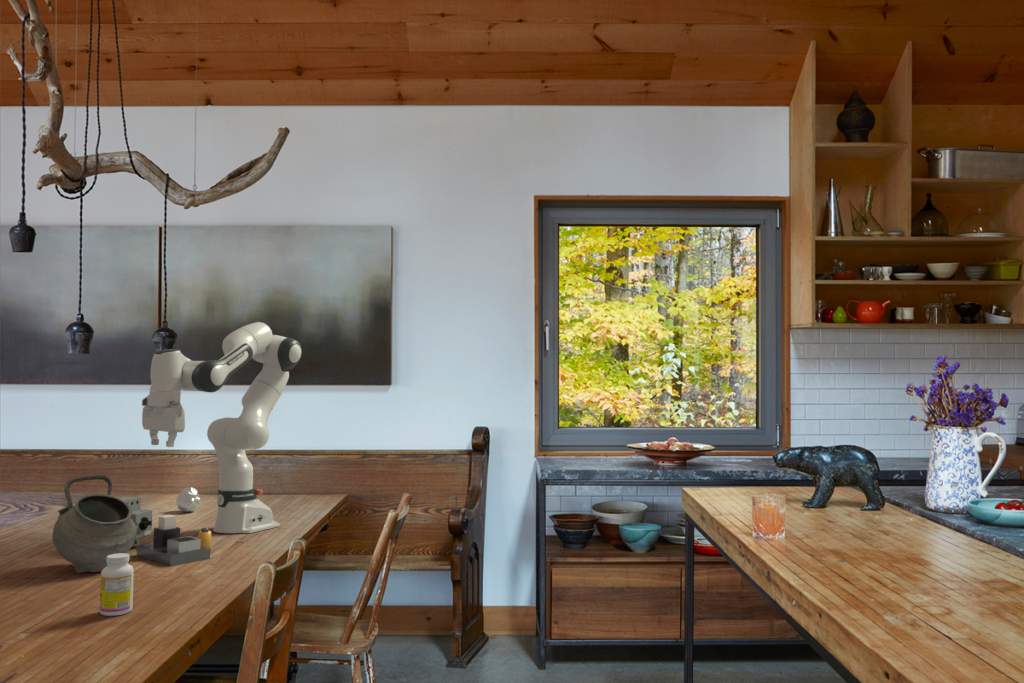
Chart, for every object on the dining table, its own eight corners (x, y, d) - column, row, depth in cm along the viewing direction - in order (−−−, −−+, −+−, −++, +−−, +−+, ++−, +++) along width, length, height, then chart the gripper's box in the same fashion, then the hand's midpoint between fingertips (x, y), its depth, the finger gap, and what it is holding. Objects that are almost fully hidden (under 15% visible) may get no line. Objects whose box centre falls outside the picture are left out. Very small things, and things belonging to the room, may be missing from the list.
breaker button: (169, 531, 231) (170, 514, 231) (175, 532, 229) (176, 516, 229) (158, 533, 228) (158, 516, 228) (164, 534, 226) (164, 517, 226)
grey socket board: (175, 548, 237) (176, 522, 237) (209, 558, 224) (210, 531, 225) (136, 555, 227) (137, 528, 228) (170, 566, 215) (171, 537, 215)
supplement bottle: (107, 608, 176) (109, 552, 177) (137, 607, 177) (139, 551, 177) (94, 617, 169) (96, 558, 170) (125, 616, 170) (127, 558, 170)
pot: (57, 562, 217) (60, 474, 219) (137, 556, 225) (140, 471, 227) (44, 580, 198) (48, 484, 200) (132, 573, 207) (136, 480, 208)
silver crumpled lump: (175, 515, 293) (176, 488, 293) (176, 510, 301) (177, 485, 302) (200, 513, 296) (201, 487, 296) (200, 509, 305) (201, 484, 305)
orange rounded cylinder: (206, 549, 236) (207, 526, 236) (213, 551, 234) (213, 528, 234) (195, 551, 233) (196, 528, 234) (202, 553, 231) (202, 529, 231)
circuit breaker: (139, 551, 232) (141, 502, 233) (99, 549, 235) (100, 500, 235) (155, 546, 239) (157, 498, 240) (116, 543, 242) (118, 496, 243)
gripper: (191, 401, 231) (189, 447, 230) (158, 400, 244) (156, 443, 243) (171, 401, 226) (168, 448, 225) (139, 400, 239) (136, 444, 238)
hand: (162, 445), depth 234 cm, fingers open, 8 cm apart
